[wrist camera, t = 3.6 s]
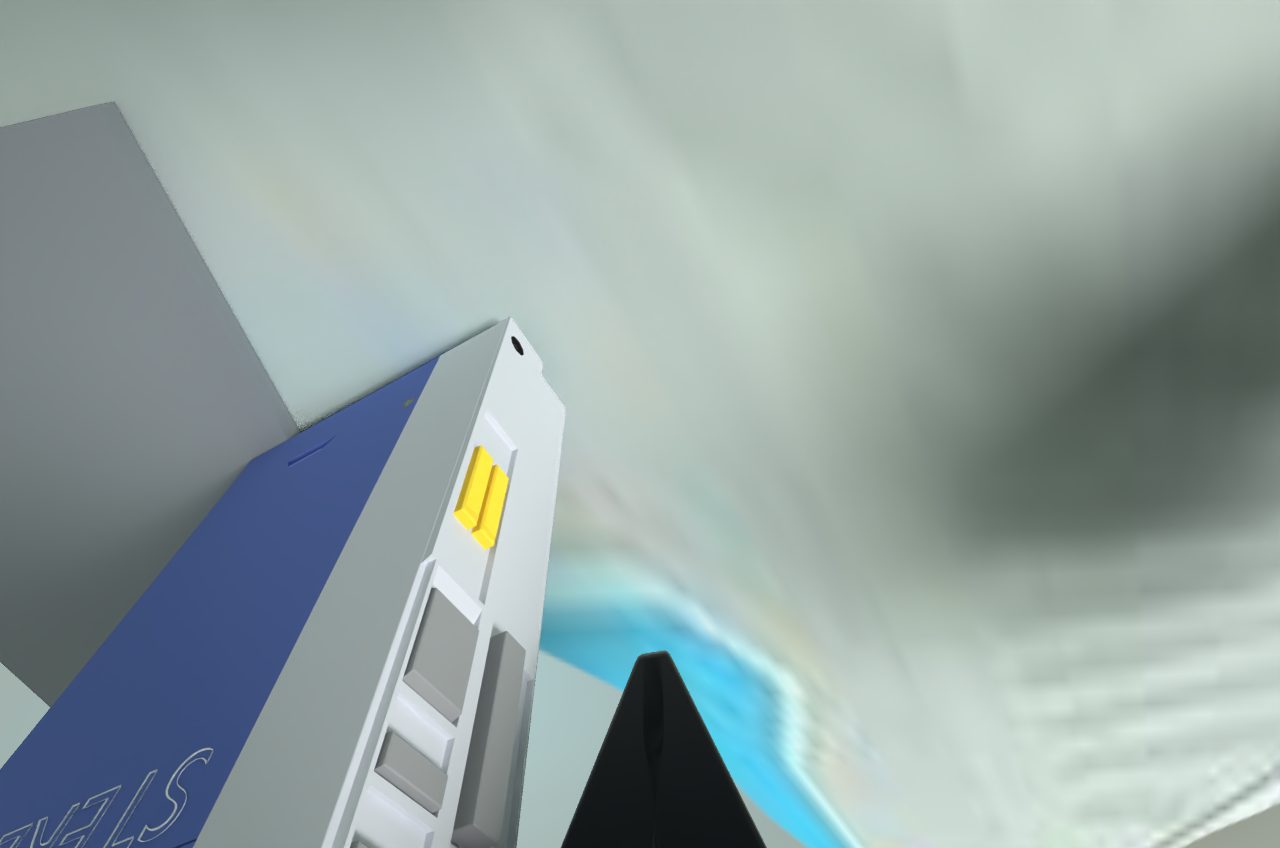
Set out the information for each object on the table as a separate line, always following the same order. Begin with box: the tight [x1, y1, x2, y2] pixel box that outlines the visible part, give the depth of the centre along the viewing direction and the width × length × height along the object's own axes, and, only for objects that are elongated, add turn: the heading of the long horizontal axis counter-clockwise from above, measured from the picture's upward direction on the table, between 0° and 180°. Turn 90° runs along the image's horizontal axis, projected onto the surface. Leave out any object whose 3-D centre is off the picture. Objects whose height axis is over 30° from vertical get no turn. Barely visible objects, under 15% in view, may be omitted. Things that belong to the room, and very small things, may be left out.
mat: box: [0, 102, 301, 707], centre depth 17 cm, size 12×16×1 cm
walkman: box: [0, 317, 566, 848], centre depth 11 cm, size 8×3×12 cm, turn 118°
